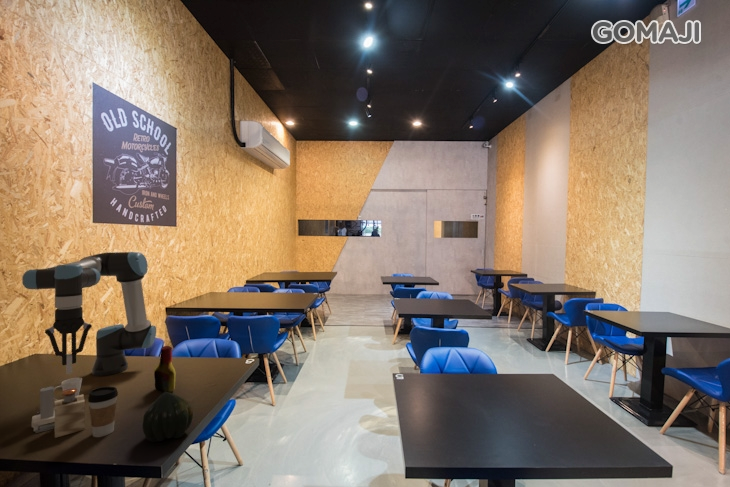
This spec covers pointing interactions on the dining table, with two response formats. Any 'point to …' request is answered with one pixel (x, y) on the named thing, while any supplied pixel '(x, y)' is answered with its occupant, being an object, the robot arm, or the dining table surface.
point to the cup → (71, 385)
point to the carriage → (45, 408)
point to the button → (69, 395)
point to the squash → (167, 417)
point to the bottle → (165, 371)
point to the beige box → (69, 416)
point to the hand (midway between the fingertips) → (69, 373)
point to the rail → (45, 426)
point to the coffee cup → (102, 410)
